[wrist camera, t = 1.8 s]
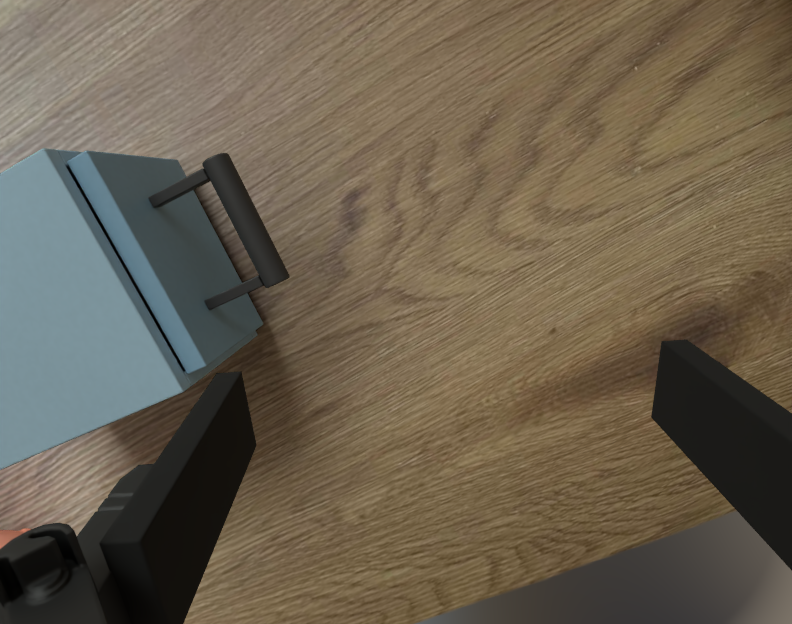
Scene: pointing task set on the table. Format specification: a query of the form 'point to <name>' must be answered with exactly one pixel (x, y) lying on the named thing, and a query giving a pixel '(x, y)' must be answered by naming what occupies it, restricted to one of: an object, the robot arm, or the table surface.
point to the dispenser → (70, 318)
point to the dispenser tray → (181, 247)
